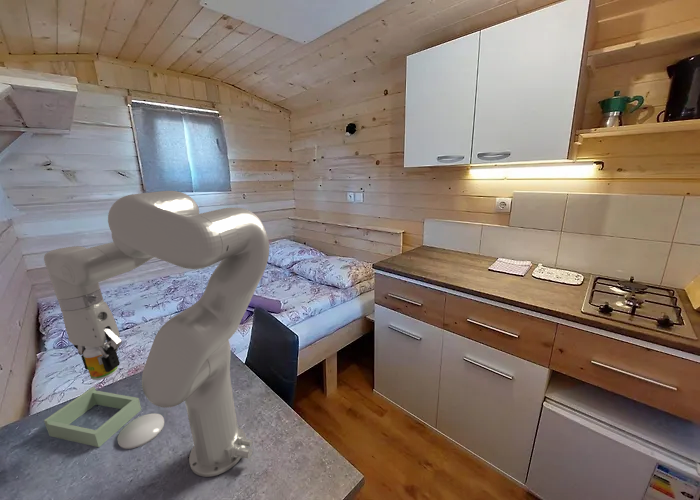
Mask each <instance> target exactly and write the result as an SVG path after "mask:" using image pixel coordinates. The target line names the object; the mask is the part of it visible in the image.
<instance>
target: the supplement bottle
mask: <svg viewBox="0 0 700 500" xmlns="http://www.w3.org/2000/svg"><path fill="white" fill-rule="evenodd" d="M105 342H107V340H105V341H104V343H105ZM104 347H105V349H106V350H107V349H108V347H109V345H106V346H104ZM85 348H86V349H85V350H84V352H83V356H84V359H85V362H86V365H87V368H88V374H89V376H90V379H92V380H93V381H99V380H100V381H101V380H103V379H107V378H109V377H111V376H112V375H114V374H115V373H116V372H117V371H118V369H119V366H117V367H116V368H114V369H113V370H111V371H110V372H106V371H105V368H104V365H103V362H102V359H101V358H103V355H102V354H101V352H100V350H99V349H98V347H89V346H85Z"/></svg>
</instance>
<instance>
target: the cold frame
mask: <svg viewBox="0 0 700 500" xmlns="http://www.w3.org/2000/svg"><path fill="white" fill-rule="evenodd" d="M96 405H97V406H103V407H108V408H114V409H117V410H118V409H119V411H117V412H116V413H115V414H113V416H111V417H110V418H109V419H107V420H106V421H105V422H104V423H102V424H101V425H100V426H99V427H97V429H92V428H88V427H87V428H86V427H83V426H77V425H73V424H72V423H73V422H75V420H77V419H78V418H80V417H81V416H83V415H84V414H85V413H86V412H88V411H89V410H91V409H92V408H93V407H95V406H96ZM141 411H142V407H141V402H140V397H135V396H129V395H124V394H118V393H113V392H108V391H107V392H106V391H102V390H101V391H100V390H96V387H94V386H93V387H90V388H89V389H88V390H86V391H84V392H83V393H82V394H80V395H79V396H77V397H76V398H74V399H73V400H71V401H70V402H68V403H67V404H65V405H64V406H62V407H61V408H60V409H58V410H56V411H55V412H54V413H52V414H51V415H50V416H48V417H47V418H45V419H43V422H44V425H45V427H46V430H47V434H48V436H49V437H52V438H57V439H60V440H65V441H69V442H75V443H78V444H82V445H87V446H92V447H95V448H100V447H101V446H102V445H104V444H105V442H107V441H108V440H109V439H110V438H112V436H114V435H115V434H116V433H117V432H118V431H119V430H120V429H121V428H124V427H125V426H126V425H127V424H128V423H129V422H130V421H131V419H133V418H135V416H137V414H138V413H140V412H141ZM123 426H124V427H123Z"/></svg>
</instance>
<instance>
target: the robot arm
mask: <svg viewBox="0 0 700 500" xmlns="http://www.w3.org/2000/svg"><path fill="white" fill-rule="evenodd" d="M107 223H108V227H109V229H110V232H111V239H112V242H108V243H104V244H100V245H99V244H98V245H96V246H92V247H89V248H87V247H84V246H78V245H77V246H76V245H74V246H67V247H66V246H65V247H61V248H57V249H52V250H50V251H47V252H46V253H45V254H44V256H43V262H44V265H45V267H46V270H47V273H48V275H49V279H50V281H51V285H52V287H53V290H54V293H55V296H56V299H57V302H58V305H59V307H60V311H61V313H62V319H63V323H64V328H65V331H66V335H67V337H68V338H67V340H68V342H70V343H71V344H72V345H73V347H74V348H75V349H76V350H77V352H78V355H79V356H80V357H81V360H82V363H83V366H84V369H85V371H86V370H88V368H87V365H86V362H85V359H84V356H83V352H84V350H85V349H86V348H85V346H89V347H98V349H99V350H100V352H101V354H102V355H103V358H101V359H102V362H103V365H104V368H105V371H106V372H110V371H111V370H113V369H114V368H116V367H117V366H118V367H119V366H120V359H119V355H118V350H119V346H120V345H121V344H122V343H123V342H122V340H121V339H120V336H121V335H120V331H119V328H118V324H117V323H116V319H115V318H114V316H113V313H112V311H111V309H110V306H109V305H108V304H107V302H106V301H104V297H103V293H102V291H101V287H100V284H99V283H100V282H103V281H106V280H108V279H111V278H114V277H117V276H119V275H122V274H125V273H128V272H130V271H133V270H135V269H136V268H139V267H140V266H143V265H144V264H145V263H147V262H149V261H150V260H152V259H153V258H156V259H158V260H162V261H164V262H166V263H168V264H172V265H175V266H176V267H179V268H183V269H189V270H190V269H191V270H199V269H204V268H207V267H210V266H212V265H215V264H217V263H219V264H218V265H217V267H216V268H215V269H214V271H213V272H212V273H211V275H210V276H209V279H208V282H207V284H206V287H205V290H204V291H203V294H202V296H201V297H200V299H198V301H197V302H195V303H193V304H192V305H191V306H189V307H187V308H186V309H184V310H183V311H181V312H180V313H177V314H176V315H174V316H172V317H171V318H170V319H169V320H167V321H166V322H164V324H163V325H162V326H161V327H160V328H159V330H158V331H157V333H156V335H155V336H154V338H153V342H152V345H151V347H150V351H149V353H148V356H147V358H146V362H145V365H144V366H143V367H144V368H143V371H142V376H141V387H142V391H143V394H144V396H145V397H146V398H147V400H148V401H149V402H150V403H151V404H153V406H156V407H159V408H165V409H167V408H169V409H170V408H174V407H176V406H179V405H180V404H182V403H184V404H185V408H186V414H187V418H188V422H189V423H188V424H189V426H190V432H191V436H192V441H193V447H192V449H191V450H190V454H189V458H188V461H189V465H190V469H191V471H192V472H193V473H194V474H195V475H197V476H200V477H206V478H208V477H209V478H210V477H215V476H218V475H221V474H224V473H225V472H227V471H229V470H230V469H232V468H233V467H235V465H237V464H238V462H240V460H241V459H247V460H249V459H251V457H252V455H253V449H252V448H251V447H252V445H253V442H254V441H253V439H249V438H247V435H246V432H245V431H244V430H243V429H241V427H239V426H238V425H239V424H238V420H237V414H236V413H237V412H236V408H235V401H234V394H233V388H232V380H231V357H232V356H231V353H232V351H231V350H232V349H231V343H230V341H229V340H230V339H231V338H232V337H233V335H235V333H236V332H237V330H238V328H239V326H240V324H241V323H242V319H243V317H244V315H245V313H246V312H247V309H248V308H249V305H250V303H251V301H252V298H253V296H254V294H255V292H256V289H257V288H258V285H259V284H260V281H261V279H262V278H263V275H264V272H265V270H266V268H267V264H268V261H269V256H270V255H269V254H270V240H269V236H268V232H267V231H266V227H265V225H264V224H263V222H262V220H261V219H260V218H259V217H258V216H257V215H256V214H255V213H254V212H253V211H251V210H249V209H247V208H244V207H243V208H242V207H225V208H220V209H215V210H211V211H206V212H201V213H200V208H199V205H198V204H197V202H196V201H195V200H194V199H193V197H192V196H189V195H188V194H186V193H185V192H182V191H178V190H160V191H153V192H152V191H151V192H144V193H134V194H133V193H132V194H127V195H123V196H122V197H119V199H117V200H116V201H114V203H113V204H112V205H111V207H110V209H109V210H108V214H107ZM105 340H106V342H105V343H104V341H105ZM106 345H109V347H108V349H107V350H106V349H105V347H104V346H106ZM248 447H249V448H248Z"/></svg>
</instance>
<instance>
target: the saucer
mask: <svg viewBox="0 0 700 500" xmlns="http://www.w3.org/2000/svg"><path fill="white" fill-rule="evenodd" d="M164 427H165V418H164V417H163V415H162V414H160V413H148V414H143V415H140V416H138V417H136V418H134V419H133V420H130V421H129V422H127V423H126V424H125V425H124V427H122V429H121V430H120V432H119V433H118V435H117V444H118V446H119V447H120V448H122V449H124V450H125V449H126V450H131V449H136V448H140V447H142V446H144V445H146V444H148V443H150V442H151V441H153V440H154V439H155V438H156V437H158V436H159V434H160V433H162V431H163V429H164Z"/></svg>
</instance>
